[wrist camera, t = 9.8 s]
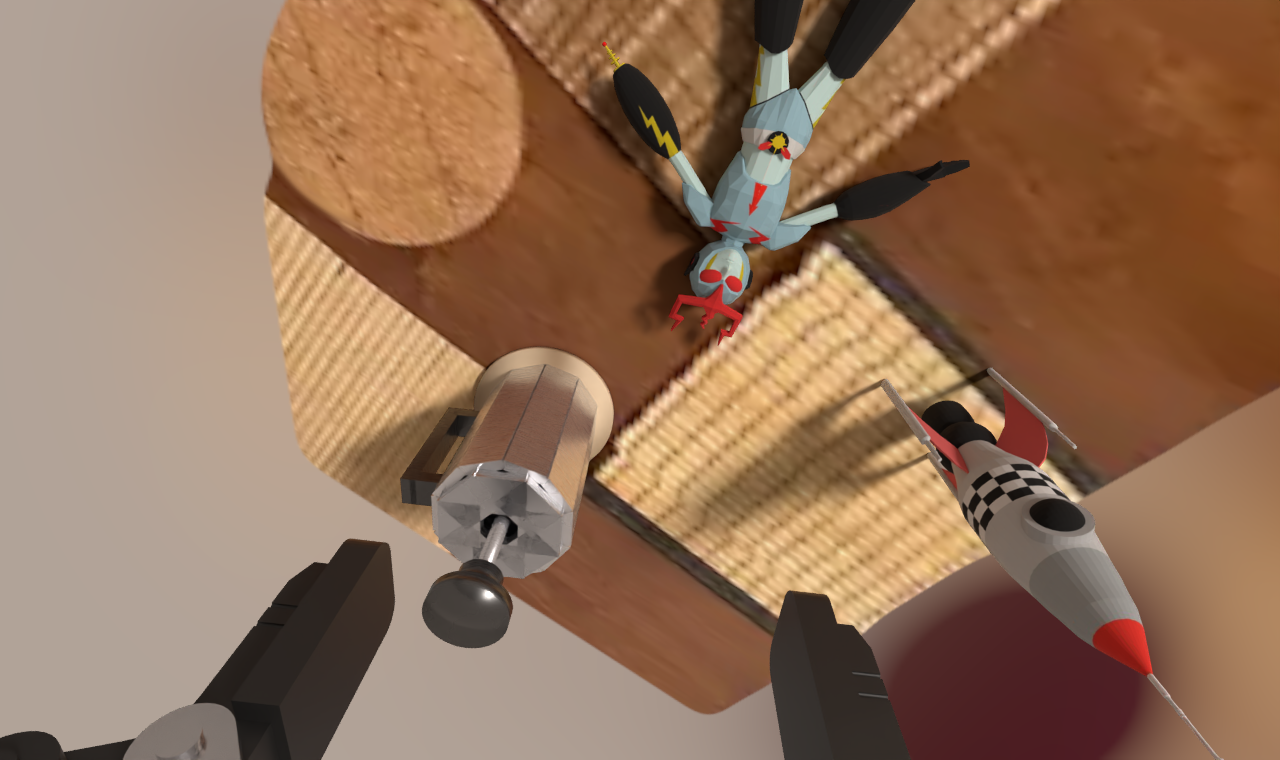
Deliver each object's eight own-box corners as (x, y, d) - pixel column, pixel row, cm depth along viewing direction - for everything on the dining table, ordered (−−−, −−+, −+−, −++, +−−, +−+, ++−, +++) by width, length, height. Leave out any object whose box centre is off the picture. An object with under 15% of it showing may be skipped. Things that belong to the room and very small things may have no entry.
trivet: (476, 460, 56) (474, 463, 55) (475, 338, 50) (473, 341, 50) (607, 475, 56) (607, 479, 55) (620, 355, 51) (619, 358, 50)
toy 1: (1129, -64, 32) (871, 419, 44) (1044, -31, 39) (841, 378, 51) (670, -256, 30) (523, 309, 41) (667, -183, 37) (543, 281, 48)
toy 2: (994, 360, 49) (1388, 695, 22) (989, 449, 53) (1322, 830, 26) (879, 377, 50) (1121, 715, 23) (882, 463, 54) (1094, 842, 27)
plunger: (494, 466, 50) (408, 652, 34) (494, 398, 48) (401, 564, 31) (571, 475, 50) (523, 665, 34) (576, 407, 48) (526, 578, 31)
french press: (460, 450, 55) (389, 572, 41) (457, 353, 50) (378, 453, 37) (592, 465, 55) (566, 593, 41) (600, 370, 51) (574, 476, 37)
